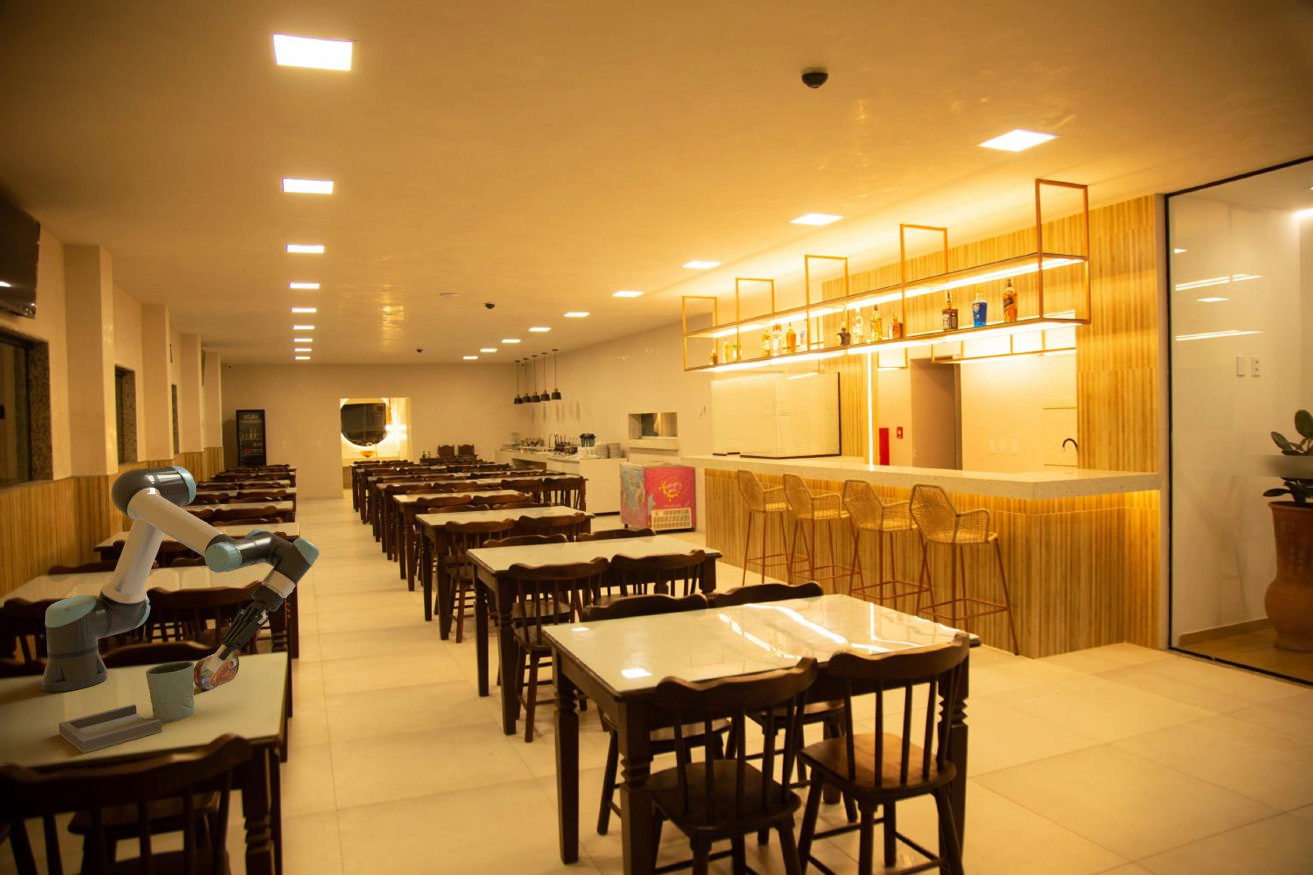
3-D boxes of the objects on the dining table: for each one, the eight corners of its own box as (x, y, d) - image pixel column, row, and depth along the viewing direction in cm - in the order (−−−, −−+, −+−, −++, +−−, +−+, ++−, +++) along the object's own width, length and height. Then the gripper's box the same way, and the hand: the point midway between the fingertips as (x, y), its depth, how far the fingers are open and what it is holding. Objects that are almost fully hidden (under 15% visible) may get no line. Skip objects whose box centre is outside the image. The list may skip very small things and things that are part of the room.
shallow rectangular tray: (59, 734, 197) (58, 722, 197) (134, 714, 209) (133, 704, 209) (83, 753, 184) (82, 741, 184) (162, 731, 196) (161, 720, 196)
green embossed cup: (206, 711, 209) (203, 663, 209) (167, 725, 200) (164, 675, 199) (178, 707, 213) (175, 659, 213) (139, 720, 204) (136, 671, 204)
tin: (202, 693, 223) (200, 661, 223) (191, 693, 224) (189, 661, 224) (240, 675, 238) (239, 646, 238) (231, 675, 239) (229, 645, 239)
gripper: (294, 602, 222) (231, 682, 210) (272, 596, 231) (211, 673, 219) (273, 585, 218) (207, 666, 206) (251, 580, 227) (187, 657, 215)
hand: (209, 670), depth 213 cm, fingers closed
